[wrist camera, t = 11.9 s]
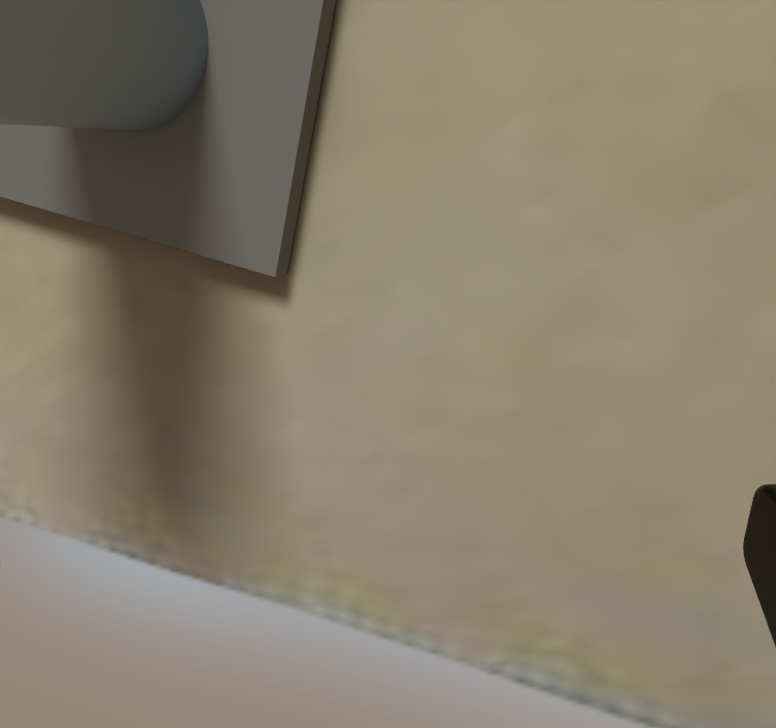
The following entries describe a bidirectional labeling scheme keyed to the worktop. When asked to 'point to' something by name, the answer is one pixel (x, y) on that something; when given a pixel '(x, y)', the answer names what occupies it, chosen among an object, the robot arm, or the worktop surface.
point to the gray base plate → (198, 146)
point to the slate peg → (100, 61)
